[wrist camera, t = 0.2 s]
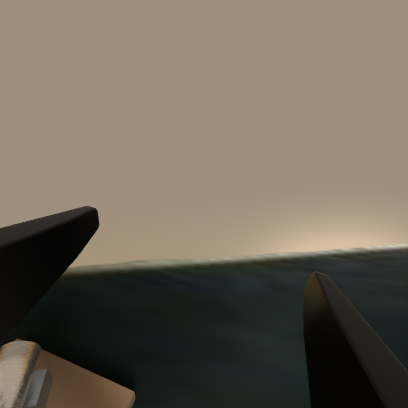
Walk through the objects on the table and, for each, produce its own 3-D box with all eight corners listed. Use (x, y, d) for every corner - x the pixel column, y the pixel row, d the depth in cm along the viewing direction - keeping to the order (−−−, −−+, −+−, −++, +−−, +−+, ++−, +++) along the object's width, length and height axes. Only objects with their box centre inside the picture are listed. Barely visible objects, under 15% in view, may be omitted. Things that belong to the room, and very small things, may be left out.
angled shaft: (31, 456, 13) (7, 440, 11) (-34, 474, 13) (-75, 460, 10) (57, 363, 17) (42, 337, 15) (8, 371, 17) (-15, 346, 14)
